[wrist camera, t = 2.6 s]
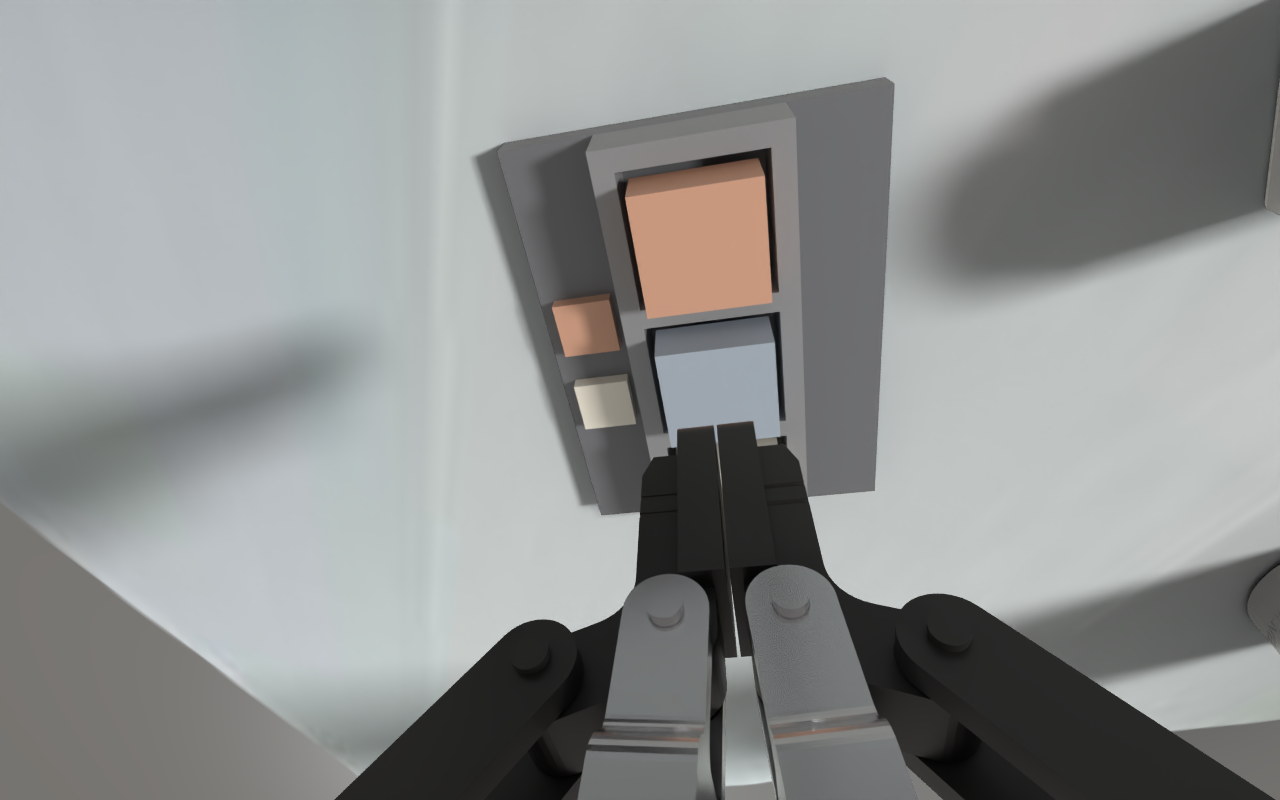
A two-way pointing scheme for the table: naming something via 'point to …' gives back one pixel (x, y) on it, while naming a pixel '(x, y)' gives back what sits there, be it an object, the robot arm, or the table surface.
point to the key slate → (719, 376)
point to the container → (1274, 166)
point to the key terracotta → (701, 238)
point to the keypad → (799, 313)
